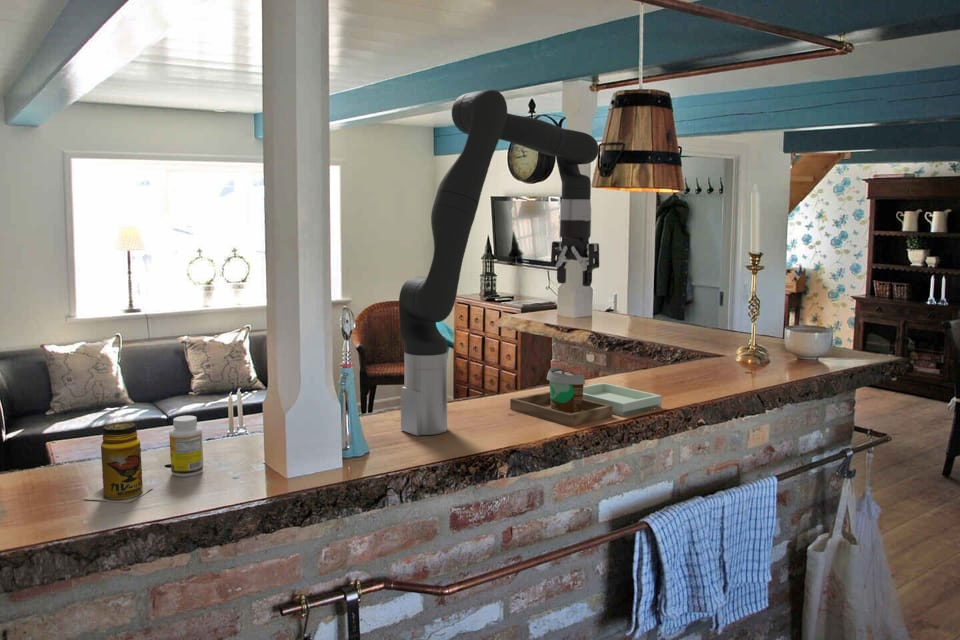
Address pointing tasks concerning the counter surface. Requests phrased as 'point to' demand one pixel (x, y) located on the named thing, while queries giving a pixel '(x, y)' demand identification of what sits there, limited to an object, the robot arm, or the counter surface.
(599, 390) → the sage tray
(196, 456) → the supplement bottle
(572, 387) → the food container
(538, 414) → the walnut frame
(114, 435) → the condiment
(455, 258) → the robot arm
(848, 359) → the counter surface
